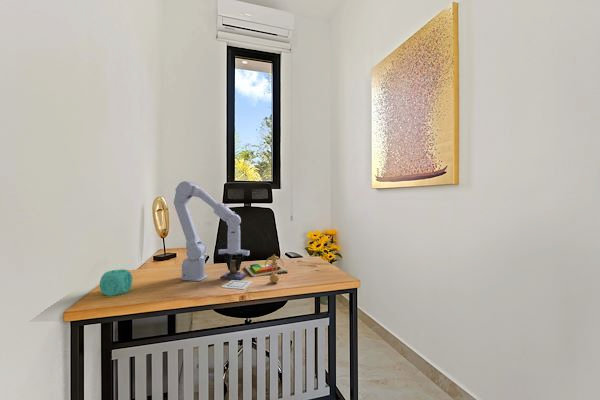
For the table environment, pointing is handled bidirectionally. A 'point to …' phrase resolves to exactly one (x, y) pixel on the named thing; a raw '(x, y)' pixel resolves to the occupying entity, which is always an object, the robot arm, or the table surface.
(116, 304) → the table surface
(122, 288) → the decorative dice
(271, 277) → the figurine
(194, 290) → the table surface
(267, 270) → the wooden puzzle
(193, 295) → the table surface
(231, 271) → the stamp
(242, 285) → the card sheet
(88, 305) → the table surface
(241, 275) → the ink pad
